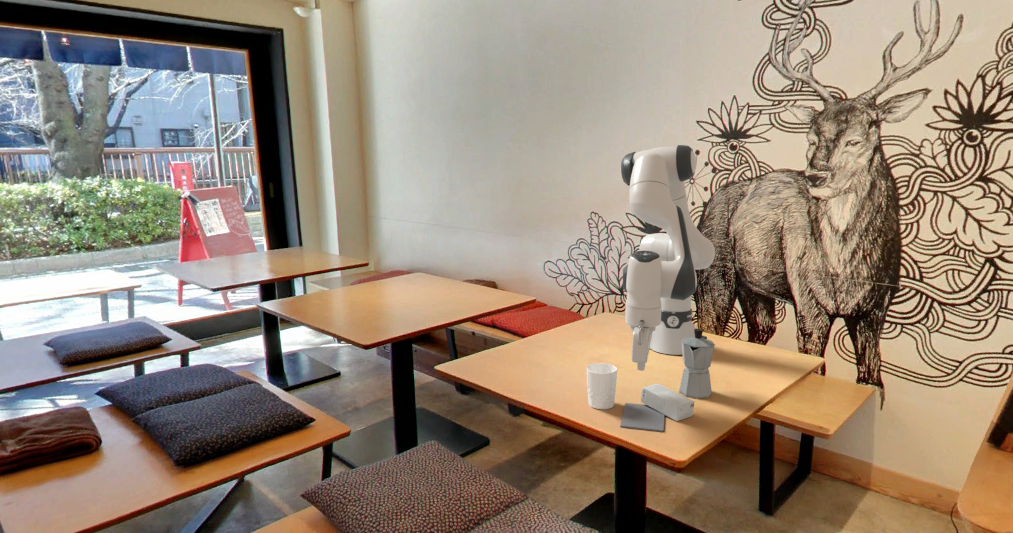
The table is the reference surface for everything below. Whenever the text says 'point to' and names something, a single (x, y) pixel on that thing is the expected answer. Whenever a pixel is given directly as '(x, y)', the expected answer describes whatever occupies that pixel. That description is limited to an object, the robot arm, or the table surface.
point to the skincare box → (667, 402)
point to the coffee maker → (696, 366)
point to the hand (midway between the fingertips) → (641, 368)
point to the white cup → (601, 385)
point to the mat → (642, 418)
